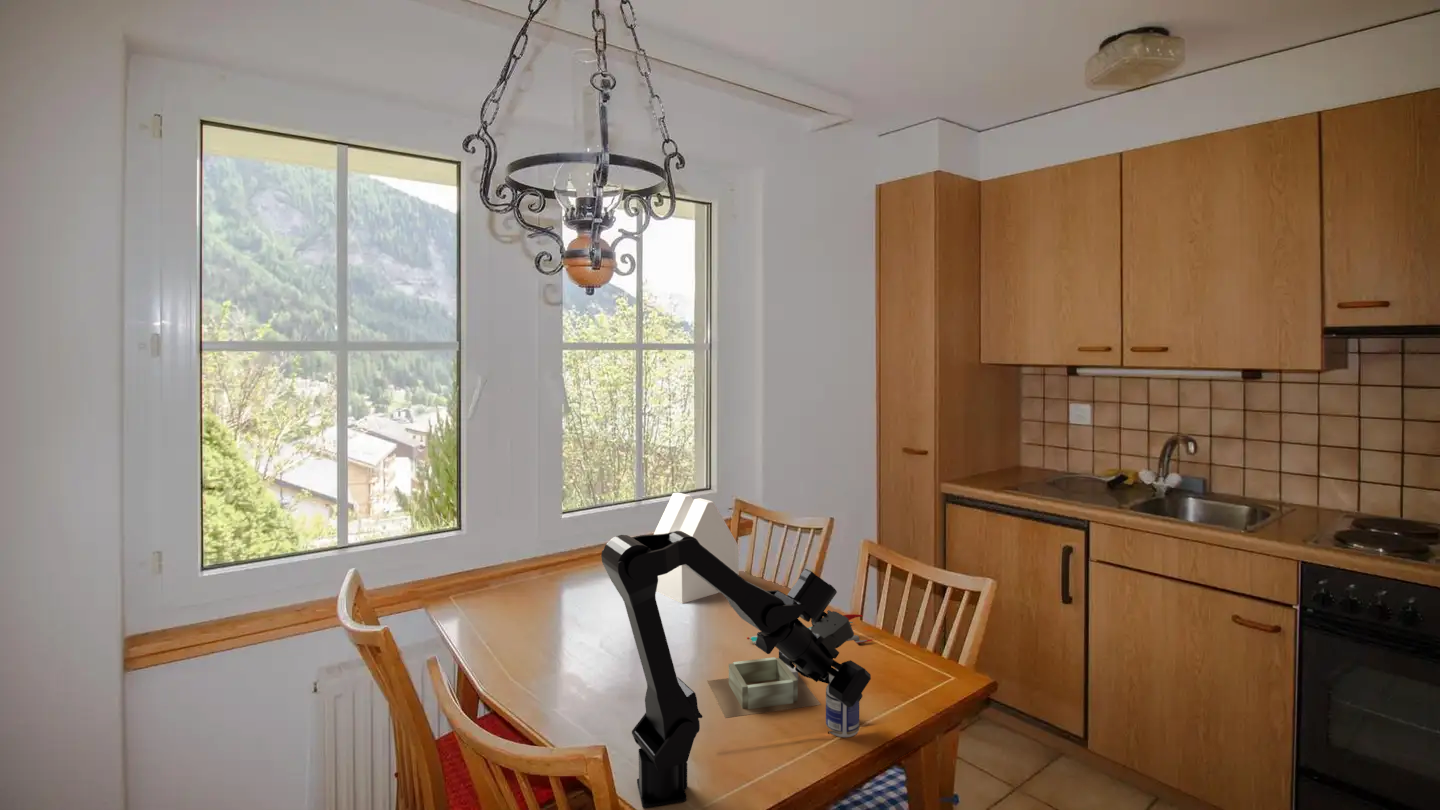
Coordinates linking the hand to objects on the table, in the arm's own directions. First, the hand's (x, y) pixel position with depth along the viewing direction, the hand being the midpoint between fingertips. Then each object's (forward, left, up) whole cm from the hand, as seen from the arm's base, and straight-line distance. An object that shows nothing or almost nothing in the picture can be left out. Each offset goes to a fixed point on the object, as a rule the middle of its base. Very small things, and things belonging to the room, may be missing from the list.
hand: (849, 690), depth 122 cm
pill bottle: (-1, 0, -7) cm, 7 cm away
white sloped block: (-11, +76, -7) cm, 77 cm away
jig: (-11, +14, -7) cm, 19 cm away
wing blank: (-5, +18, -6) cm, 20 cm away
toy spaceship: (+6, +35, -7) cm, 36 cm away
